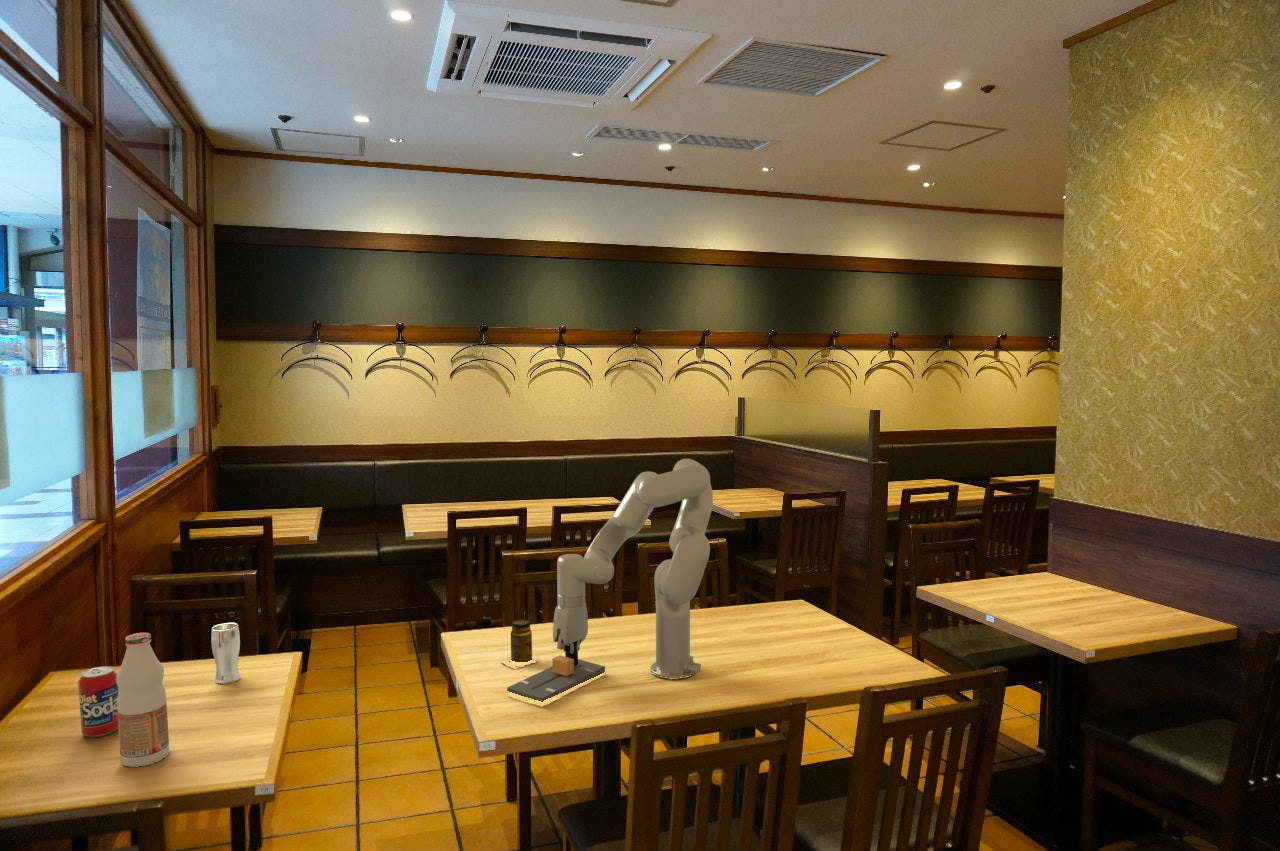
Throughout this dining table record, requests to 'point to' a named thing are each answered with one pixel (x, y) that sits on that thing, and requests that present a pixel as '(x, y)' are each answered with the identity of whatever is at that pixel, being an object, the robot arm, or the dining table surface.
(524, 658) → the condiment
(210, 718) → the dining table surface
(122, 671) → the fruit juice
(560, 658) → the fader tab
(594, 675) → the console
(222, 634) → the beer glass
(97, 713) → the soda can
